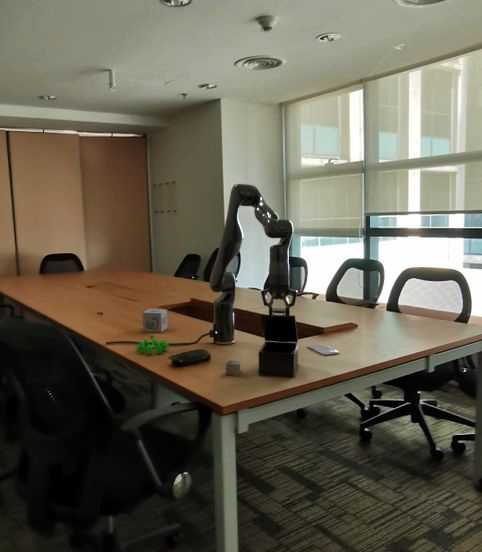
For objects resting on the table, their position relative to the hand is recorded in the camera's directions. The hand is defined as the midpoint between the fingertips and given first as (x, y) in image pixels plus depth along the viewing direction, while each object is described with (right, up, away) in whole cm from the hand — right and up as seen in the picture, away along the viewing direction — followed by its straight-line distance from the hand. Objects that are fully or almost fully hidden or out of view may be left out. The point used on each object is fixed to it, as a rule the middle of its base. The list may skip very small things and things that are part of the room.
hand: (279, 316), depth 186 cm
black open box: (0, -20, +1) cm, 20 cm away
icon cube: (-55, -13, +72) cm, 92 cm away
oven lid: (0, -5, +1) cm, 5 cm away
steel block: (-18, -21, -3) cm, 28 cm away
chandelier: (-52, -18, +31) cm, 63 cm away
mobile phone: (+23, -17, +26) cm, 38 cm away
